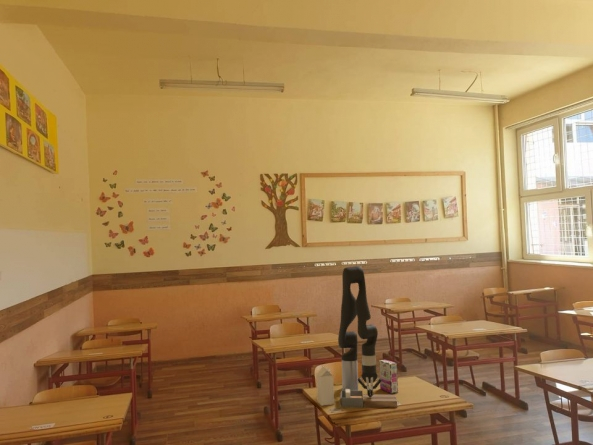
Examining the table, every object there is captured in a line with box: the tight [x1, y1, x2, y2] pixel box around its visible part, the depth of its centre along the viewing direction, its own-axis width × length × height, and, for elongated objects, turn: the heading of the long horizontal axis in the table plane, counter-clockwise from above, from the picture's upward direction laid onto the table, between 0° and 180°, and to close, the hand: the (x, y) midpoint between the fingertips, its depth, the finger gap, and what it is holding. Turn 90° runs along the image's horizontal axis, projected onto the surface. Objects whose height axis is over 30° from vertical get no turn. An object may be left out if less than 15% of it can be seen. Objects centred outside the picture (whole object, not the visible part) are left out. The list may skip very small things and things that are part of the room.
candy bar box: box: [378, 359, 399, 395], centre depth 264 cm, size 11×5×16 cm, turn 25°
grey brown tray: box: [363, 393, 398, 408], centre depth 242 cm, size 11×17×3 cm, turn 83°
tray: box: [339, 389, 364, 409], centre depth 244 cm, size 13×12×5 cm
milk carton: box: [316, 365, 335, 407], centre depth 245 cm, size 7×7×19 cm
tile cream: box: [346, 389, 350, 398], centre depth 243 cm, size 6×6×2 cm
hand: (370, 396), depth 242 cm, fingers closed
